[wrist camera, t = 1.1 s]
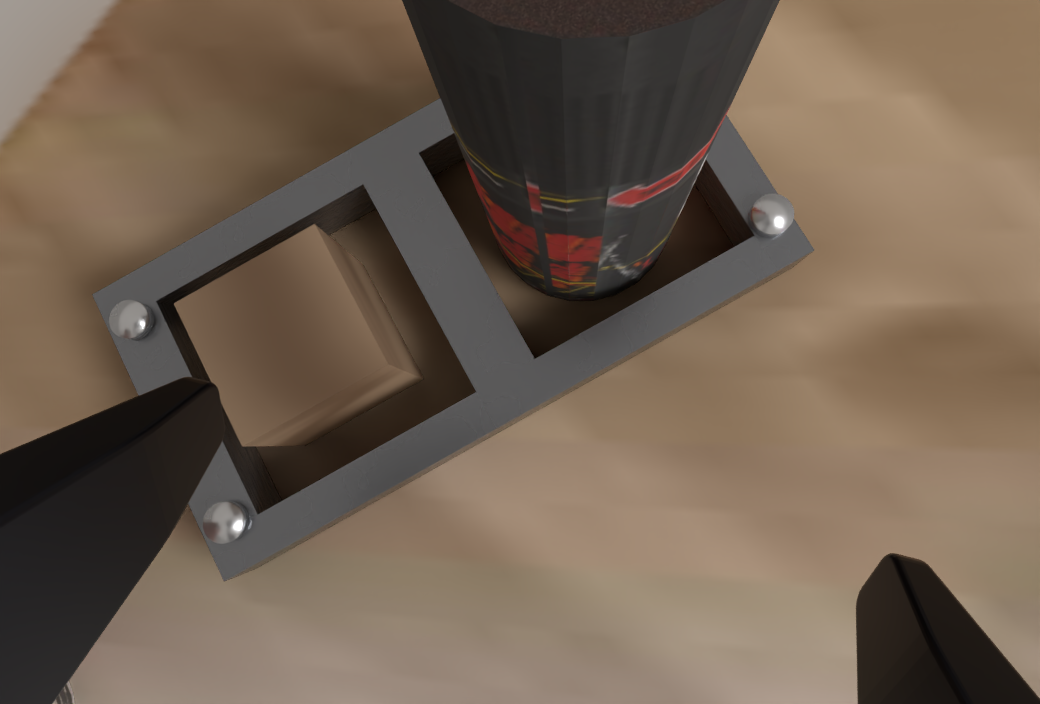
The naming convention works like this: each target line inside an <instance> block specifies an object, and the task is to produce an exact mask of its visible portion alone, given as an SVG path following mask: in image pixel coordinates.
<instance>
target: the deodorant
mask: <svg viewBox="0 0 1040 704" xmlns="http://www.w3.org/2000/svg"><path fill="white" fill-rule="evenodd" d="M402 1H403V4H404V6H405V9H406V11H407V14H408V16H409V19H410V21H411V24H412V27H413V29H414V32H415V34H416V37H417V39H418V42H419V44H420V47H421V50H422V52H423V55H424V57H425V60H426V62H427V65H428V67H429V70H430V73H431V75H432V78H433V80H434V83H435V85H436V88H437V90H438V93H439V96H440V98H441V101H442V103H443V106H444V108H445V111H446V113H447V116H448V119H449V121H450V124H451V126H452V129H453V131H454V134H455V136H456V139H457V142H458V144H459V147H460V149H461V152H462V154H463V157H464V159H465V162H466V165H467V167H468V170H469V172H470V175H471V177H472V180H473V182H474V185H475V188H476V190H477V193H478V195H479V198H480V200H481V203H482V205H483V208H484V211H485V213H486V216H487V218H488V221H489V223H490V226H491V228H492V231H493V234H494V236H495V239H496V241H497V244H498V246H499V249H500V250H501V252H502V254H503V256H504V257H505V259H506V261H507V262H508V264H509V266H510V268H511V269H512V270H513V271H514V272H515V273H516V274H517V275H519V276H520V277H521V278H522V279H523V280H524V281H525V282H526V283H527V284H529V285H530V286H532V287H534V288H536V289H537V290H539V291H541V292H543V293H544V294H546V295H549V296H553V297H557V298H561V299H565V300H569V301H594V300H598V299H601V298H605V297H609V296H612V295H616V294H618V293H620V292H621V291H623V290H625V289H627V288H628V287H630V286H632V285H634V284H635V283H637V282H638V281H639V280H640V279H641V278H642V277H643V276H644V275H645V274H646V273H647V272H648V271H649V270H650V269H651V268H652V267H653V266H654V264H655V263H656V261H657V259H658V257H659V256H660V254H661V252H662V251H663V249H664V247H665V245H666V243H667V241H668V239H669V237H670V235H671V232H672V230H673V228H674V226H675V224H676V222H677V219H678V217H679V215H680V213H681V211H682V209H683V207H684V204H685V202H686V200H687V198H688V196H689V194H690V192H691V189H692V187H693V185H694V183H695V181H696V179H697V177H698V174H699V172H700V170H701V168H702V166H703V164H704V162H705V159H706V157H707V155H708V153H709V151H710V149H711V146H712V144H713V142H714V140H715V138H716V136H717V134H718V131H719V129H720V127H721V125H722V123H723V121H724V119H725V116H726V114H727V112H728V110H729V108H730V106H731V104H732V101H733V99H734V97H735V95H736V93H737V91H738V88H739V86H740V84H741V82H742V80H743V78H744V76H745V73H746V71H747V69H748V67H749V65H750V63H751V61H752V58H753V56H754V54H755V52H756V50H757V48H758V46H759V43H760V41H761V39H762V37H763V35H764V33H765V31H766V28H767V26H768V24H769V22H770V20H771V18H772V15H773V13H774V11H775V9H776V7H777V5H778V3H779V0H402Z"/></svg>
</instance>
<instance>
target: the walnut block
mask: <svg viewBox="0 0 1040 704" xmlns="http://www.w3.org/2000/svg"><path fill="white" fill-rule="evenodd" d="M174 305H175V307H176V310H177V312H178V314H179V316H180V318H181V320H182V322H183V324H184V326H185V328H186V330H187V332H188V335H189V337H190V339H191V341H192V343H193V345H194V347H195V349H196V351H197V353H198V355H199V358H200V360H201V362H202V364H203V366H204V368H205V370H206V372H207V374H208V376H209V378H210V380H211V382H212V383H214V384H215V385H216V386H217V388H218V390H219V394H220V400H221V403H222V406H223V408H224V410H225V412H226V414H227V416H228V418H229V420H230V422H231V424H232V426H233V428H234V431H235V433H236V435H237V437H238V439H239V441H240V443H241V445H242V447H243V446H303V445H307V444H309V443H311V442H313V441H315V440H316V439H318V438H320V437H322V436H323V435H325V434H327V433H329V432H331V431H332V430H334V429H336V428H338V427H339V426H341V425H343V424H345V423H347V422H348V421H350V420H352V419H354V418H355V417H357V416H359V415H361V414H363V413H364V412H366V411H368V410H370V409H371V408H373V407H375V406H377V405H379V404H380V403H382V402H384V401H386V400H387V399H389V398H391V397H393V396H395V395H396V394H398V393H400V392H402V391H403V390H405V389H407V388H409V387H411V386H412V385H414V384H416V383H418V382H420V381H421V380H423V379H424V378H423V376H422V374H421V372H420V371H419V369H418V367H417V365H416V363H415V361H414V359H413V357H412V355H411V354H410V352H409V350H408V348H407V346H406V344H405V342H404V340H403V339H402V337H401V335H400V333H399V331H398V329H397V327H396V325H395V324H394V322H393V320H392V318H391V316H390V314H389V312H388V310H387V309H386V307H385V305H384V303H383V301H382V299H381V297H380V295H379V294H378V292H377V290H376V288H375V286H374V284H373V282H372V280H371V279H370V277H369V275H368V273H367V271H366V269H365V267H364V265H363V264H362V263H361V262H360V261H358V260H357V259H356V258H355V257H354V256H352V255H351V254H350V253H349V252H348V251H346V250H345V249H344V248H343V247H342V246H340V245H339V244H338V243H337V242H336V241H334V240H333V239H332V238H331V237H330V236H328V235H327V234H326V233H325V232H324V231H322V230H321V229H320V228H319V227H318V226H316V225H315V224H314V225H312V226H310V227H308V228H306V229H305V230H303V231H301V232H299V233H298V234H296V235H294V236H292V237H290V238H289V239H287V240H285V241H283V242H282V243H280V244H278V245H276V246H275V247H273V248H271V249H269V250H267V251H266V252H264V253H262V254H260V255H259V256H257V257H255V258H253V259H251V260H250V261H248V262H246V263H244V264H243V265H241V266H239V267H237V268H236V269H234V270H232V271H230V272H228V273H227V274H225V275H223V276H221V277H220V278H218V279H216V280H214V281H212V282H211V283H209V284H207V285H205V286H204V287H202V288H200V289H198V290H197V291H195V292H193V293H191V294H189V295H188V296H186V297H184V298H182V299H181V300H179V301H177V302H175V303H174Z"/></svg>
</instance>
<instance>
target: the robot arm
mask: <svg viewBox="0 0 1040 704" xmlns="http://www.w3.org/2000/svg"><path fill="white" fill-rule="evenodd" d="M224 434H225V421H224V416H223V411H222V405H221V400H220V394H219V390H218V388H217V386H216V385H215V384H214V383H212V382H209V381H205V380H201V379H197V378H193V377H183V378H180V379H177V380H175V381H173V382H170V383H168V384H166V385H163V386H161V387H158V388H156V389H154V390H151V391H149V392H147V393H144V394H142V395H139V396H137V397H135V398H132V399H130V400H128V401H125V402H123V403H120V404H118V405H116V406H113V407H111V408H109V409H106V410H104V411H101V412H99V413H97V414H94V415H92V416H90V417H87V418H85V419H82V420H80V421H78V422H75V423H73V424H71V425H68V426H66V427H63V428H61V429H59V430H56V431H54V432H52V433H49V434H47V435H44V436H42V437H40V438H37V439H35V440H33V441H30V442H28V443H26V444H23V445H21V446H18V447H16V448H14V449H11V450H9V451H7V452H4V453H2V454H0V704H53V702H54V701H55V700H56V698H57V697H58V695H59V694H60V692H61V691H62V690H63V688H64V687H65V685H66V684H67V682H68V681H69V680H70V678H71V677H72V675H73V674H74V672H75V671H76V670H77V668H78V667H79V665H80V664H81V662H82V661H83V660H84V658H85V657H86V655H87V654H88V652H89V651H90V650H91V648H92V647H93V645H94V644H95V642H96V641H97V640H98V638H99V637H100V635H101V634H102V632H103V631H104V630H105V628H106V627H107V625H108V624H109V622H110V621H111V620H112V618H113V617H114V615H115V614H116V612H117V611H118V610H119V608H120V607H121V605H122V604H123V602H124V601H125V600H126V598H127V597H128V595H129V594H130V592H131V591H132V590H133V588H134V587H135V585H136V584H137V582H138V581H139V580H140V578H141V577H142V575H143V574H144V572H145V571H146V570H147V568H148V567H149V565H150V564H151V562H152V561H153V560H154V558H155V557H156V555H157V554H158V552H159V551H160V550H161V548H162V547H163V545H164V544H165V542H166V541H167V539H168V538H169V536H170V534H171V533H172V531H173V529H174V528H175V526H176V524H177V523H178V521H179V519H180V517H181V516H182V514H183V512H184V510H185V508H186V506H187V505H188V503H189V501H190V499H191V497H192V496H193V494H194V492H195V490H196V488H197V487H198V485H199V483H200V481H201V479H202V477H203V476H204V474H205V472H206V470H207V468H208V467H209V465H210V463H211V461H212V459H213V458H214V456H215V454H216V452H217V450H218V448H219V447H220V445H221V443H222V440H223V438H224ZM856 636H857V691H858V704H1040V698H1039V697H1038V696H1037V695H1036V694H1035V692H1034V691H1033V690H1032V689H1031V688H1030V686H1029V685H1028V684H1027V683H1026V682H1025V680H1024V679H1023V678H1022V677H1021V676H1020V674H1019V673H1018V672H1017V671H1016V670H1015V668H1014V667H1013V666H1012V665H1011V664H1010V662H1009V661H1008V660H1007V659H1006V657H1005V656H1004V655H1003V654H1002V653H1001V651H1000V650H999V649H998V648H997V647H996V645H995V644H994V643H993V642H992V641H991V639H990V638H989V637H988V636H987V635H986V633H985V632H984V631H983V630H982V629H981V627H980V626H979V625H978V624H977V623H976V621H975V620H974V619H973V618H972V617H971V615H970V614H969V613H968V612H967V611H966V609H965V608H964V607H963V606H962V605H961V603H960V602H959V601H958V600H957V599H956V597H955V596H954V595H953V594H952V593H951V591H950V590H949V589H948V588H947V587H946V585H945V584H944V583H943V582H942V581H941V579H940V578H939V577H938V576H937V575H936V573H935V572H934V571H933V570H932V569H931V567H930V566H929V565H928V564H926V563H925V562H923V561H921V560H919V559H915V558H911V557H907V556H903V555H899V554H895V553H890V554H888V555H886V556H885V557H884V558H883V559H882V560H881V561H880V563H879V564H878V566H877V567H876V568H875V570H874V571H873V573H872V574H871V575H870V577H869V578H868V580H867V581H866V583H865V584H864V585H863V587H862V588H861V590H860V592H859V595H858V598H857V603H856Z"/></svg>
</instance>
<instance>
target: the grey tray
mask: <svg viewBox="0 0 1040 704" xmlns="http://www.w3.org/2000/svg"><path fill="white" fill-rule="evenodd" d="M463 159H464V157H463V154H462V152H461V149H460V147H459V144H458V142H457V139H456V136H455V134H454V131H453V129H452V126H451V124H450V121H449V119H448V116H447V113H446V111H445V108H444V106H443V103H442V101H441V98H439V99H438V100H436V101H434V102H432V103H431V104H429V105H427V106H425V107H423V108H422V109H420V110H418V111H416V112H415V113H413V114H411V115H409V116H408V117H406V118H404V119H402V120H400V121H399V122H397V123H395V124H393V125H392V126H390V127H388V128H386V129H384V130H383V131H381V132H379V133H377V134H376V135H374V136H372V137H370V138H369V139H367V140H365V141H363V142H361V143H360V144H358V145H356V146H354V147H353V148H351V149H349V150H347V151H346V152H344V153H342V154H340V155H338V156H337V157H335V158H333V159H331V160H330V161H328V162H326V163H324V164H323V165H321V166H319V167H317V168H315V169H314V170H312V171H310V172H308V173H307V174H305V175H303V176H301V177H300V178H298V179H296V180H294V181H292V182H291V183H289V184H287V185H285V186H284V187H282V188H280V189H278V190H276V191H275V192H273V193H271V194H269V195H268V196H266V197H264V198H262V199H261V200H259V201H257V202H255V203H253V204H252V205H250V206H248V207H246V208H245V209H243V210H241V211H239V212H238V213H236V214H234V215H232V216H230V217H229V218H227V219H225V220H223V221H222V222H220V223H218V224H216V225H215V226H213V227H211V228H209V229H207V230H206V231H204V232H202V233H200V234H199V235H197V236H195V237H193V238H191V239H190V240H188V241H186V242H184V243H183V244H181V245H179V246H177V247H176V248H174V249H172V250H170V251H168V252H167V253H165V254H163V255H161V256H160V257H158V258H156V259H154V260H153V261H151V262H149V263H147V264H145V265H144V266H142V267H140V268H138V269H137V270H135V271H133V272H131V273H130V274H128V275H126V276H124V277H122V278H121V279H119V280H117V281H115V282H114V283H112V284H110V285H108V286H107V287H105V288H103V289H101V290H99V291H98V292H96V293H94V294H92V295H93V297H94V299H95V302H96V304H97V306H98V308H99V310H100V313H101V315H102V317H103V319H104V321H105V323H106V326H107V328H108V330H109V332H110V334H111V336H112V339H113V341H114V343H115V345H116V347H117V350H118V352H119V354H120V356H121V358H122V360H123V363H124V365H125V367H126V369H127V371H128V373H129V376H130V378H131V380H132V382H133V384H134V386H135V389H136V391H137V393H138V395H142V394H144V393H147V392H149V391H151V390H154V389H156V388H158V387H161V386H163V385H166V384H168V383H170V382H173V381H175V380H177V379H180V378H183V377H193V378H197V379H201V380H205V381H209V382H211V380H210V378H209V376H208V374H207V372H206V370H205V368H204V366H203V364H202V362H201V360H200V358H199V355H198V353H197V351H196V349H195V347H194V345H193V343H192V341H191V339H190V337H189V335H188V332H187V330H186V328H185V326H184V324H183V322H182V320H181V318H180V316H179V314H178V312H177V310H176V307H175V305H174V303H175V302H177V301H179V300H181V299H182V298H184V297H186V296H188V295H189V294H191V293H193V292H195V291H197V290H198V289H200V288H202V287H204V286H205V285H207V284H209V283H211V282H212V281H214V280H216V279H218V278H220V277H221V276H223V275H225V274H227V273H228V272H230V271H232V270H234V269H236V268H237V267H239V266H241V265H243V264H244V263H246V262H248V261H250V260H251V259H253V258H255V257H257V256H259V255H260V254H262V253H264V252H266V251H267V250H269V249H271V248H273V247H275V246H276V245H278V244H280V243H282V242H283V241H285V240H287V239H289V238H290V237H292V236H294V235H296V234H298V233H299V232H301V231H303V230H305V229H306V228H308V227H310V226H312V225H314V224H315V225H316V226H318V227H319V228H320V229H321V230H322V231H324V232H325V233H326V234H327V235H330V234H331V233H333V232H335V231H337V230H338V229H340V228H342V227H344V226H346V225H347V224H349V223H351V222H353V221H354V220H356V219H358V218H360V217H361V216H363V215H365V214H367V213H369V212H370V211H372V210H374V209H377V210H378V212H379V214H380V216H381V218H382V220H383V221H384V223H385V225H386V227H387V229H388V231H389V232H390V234H391V236H392V238H393V240H394V242H395V243H396V245H397V247H398V249H399V251H400V253H401V255H402V256H403V258H404V260H405V262H406V264H407V266H408V267H409V269H410V271H411V273H412V275H413V277H414V278H415V280H416V282H417V284H418V286H419V288H420V289H421V291H422V293H423V295H424V297H425V299H426V300H427V302H428V304H429V306H430V308H431V310H432V311H433V313H434V315H435V317H436V319H437V321H438V323H439V324H440V326H441V328H442V330H443V332H444V334H445V335H446V337H447V339H448V341H449V343H450V345H451V346H452V348H453V350H454V352H455V354H456V356H457V357H458V359H459V361H460V363H461V365H462V367H463V368H464V370H465V372H466V374H467V376H468V378H469V379H470V381H471V383H472V385H473V387H474V389H475V390H476V392H475V393H473V394H472V395H470V396H468V397H466V398H465V399H463V400H461V401H459V402H457V403H456V404H454V405H452V406H450V407H448V408H447V409H445V410H443V411H441V412H440V413H438V414H436V415H434V416H432V417H431V418H429V419H427V420H425V421H424V422H422V423H420V424H418V425H416V426H415V427H413V428H411V429H409V430H408V431H406V432H404V433H402V434H400V435H399V436H397V437H395V438H393V439H392V440H390V441H388V442H386V443H384V444H383V445H381V446H379V447H377V448H375V449H374V450H372V451H370V452H368V453H367V454H365V455H363V456H361V457H359V458H358V459H356V460H354V461H352V462H351V463H349V464H347V465H345V466H343V467H342V468H340V469H338V470H336V471H335V472H333V473H331V474H329V475H327V476H326V477H324V478H322V479H320V480H319V481H317V482H315V483H313V484H311V485H310V486H308V487H306V488H304V489H303V490H301V491H299V492H297V493H295V494H294V495H292V496H290V497H288V498H286V499H285V500H283V501H282V500H281V498H280V496H279V494H278V492H277V490H276V488H275V486H274V484H273V482H272V480H271V478H270V476H269V474H268V471H267V469H266V467H265V465H264V463H263V461H262V459H261V457H260V455H259V453H258V451H257V449H256V447H255V446H243V447H242V445H241V443H240V441H239V439H238V437H237V435H236V433H235V431H234V428H233V426H232V424H231V422H230V420H229V418H228V416H227V414H226V412H225V410H224V408H223V406H222V411H223V416H224V421H225V434H224V438H223V440H222V443H221V445H220V447H219V448H218V450H217V452H216V454H215V456H214V458H213V459H212V461H211V463H210V465H209V467H208V468H207V470H206V472H205V474H204V476H203V477H202V479H201V481H200V483H199V485H198V487H197V488H196V490H195V492H194V494H193V496H192V497H191V499H190V501H189V503H188V504H189V506H190V508H191V510H192V513H193V515H194V517H195V519H196V521H197V524H198V526H199V528H200V530H201V532H202V534H203V537H204V539H205V541H206V543H207V545H208V547H209V550H210V552H211V554H212V556H213V558H214V561H215V563H216V565H217V567H218V569H219V571H220V574H221V576H222V578H223V580H224V581H227V580H229V579H232V578H234V577H237V576H239V575H242V574H244V573H247V572H249V571H252V570H254V569H256V568H258V567H260V566H262V565H263V564H265V563H267V562H269V561H270V560H272V559H274V558H276V557H278V556H279V555H281V554H283V553H285V552H286V551H288V550H290V549H292V548H294V547H295V546H297V545H299V544H301V543H302V542H304V541H306V540H308V539H310V538H311V537H313V536H315V535H317V534H319V533H320V532H322V531H324V530H326V529H327V528H329V527H331V526H333V525H335V524H336V523H338V522H340V521H342V520H343V519H345V518H347V517H349V516H351V515H352V514H354V513H356V512H358V511H360V510H361V509H363V508H365V507H367V506H368V505H370V504H372V503H374V502H376V501H377V500H379V499H381V498H383V497H384V496H386V495H388V494H390V493H392V492H393V491H395V490H397V489H399V488H401V487H402V486H404V485H406V484H408V483H409V482H411V481H413V480H415V479H417V478H418V477H420V476H422V475H424V474H425V473H427V472H429V471H431V470H433V469H434V468H436V467H438V466H440V465H441V464H443V463H445V462H447V461H449V460H450V459H452V458H454V457H456V456H458V455H459V454H461V453H463V452H465V451H466V450H468V449H470V448H472V447H474V446H475V445H477V444H479V443H481V442H482V441H484V440H486V439H488V438H490V437H491V436H493V435H495V434H497V433H499V432H500V431H502V430H504V429H506V428H507V427H509V426H511V425H513V424H515V423H516V422H518V421H520V420H522V419H523V418H525V417H527V416H529V415H531V414H532V413H534V412H536V411H538V410H540V409H541V408H543V407H545V406H547V405H548V404H550V403H552V402H554V401H556V400H557V399H559V398H561V397H563V396H564V395H566V394H568V393H570V392H572V391H573V390H575V389H577V388H579V387H580V386H582V385H584V384H586V383H588V382H589V381H591V380H593V379H595V378H597V377H598V376H600V375H602V374H604V373H605V372H607V371H609V370H611V369H613V368H614V367H616V366H618V365H620V364H621V363H623V362H625V361H627V360H629V359H630V358H632V357H634V356H636V355H638V354H639V353H641V352H643V351H645V350H646V349H648V348H650V347H652V346H654V345H655V344H657V343H659V342H661V341H662V340H664V339H666V338H668V337H670V336H671V335H673V334H675V333H677V332H679V331H680V330H682V329H684V328H686V327H687V326H689V325H691V324H693V323H695V322H696V321H698V320H700V319H702V318H703V317H705V316H707V315H709V314H711V313H712V312H714V311H716V310H718V309H720V308H721V307H723V306H725V305H727V304H728V303H730V302H732V301H734V300H736V299H737V298H739V297H741V296H743V295H744V294H746V293H748V292H750V291H752V290H753V289H755V288H757V287H759V286H760V285H762V284H764V283H766V282H768V281H769V280H771V279H773V278H775V277H777V276H778V275H780V274H782V273H784V272H785V271H787V270H789V269H791V268H793V267H794V266H795V265H797V264H798V263H799V262H800V261H802V260H803V259H804V258H805V257H807V256H808V255H809V254H810V253H812V252H813V251H814V249H813V247H812V246H811V244H810V243H809V241H808V240H807V238H806V236H805V235H804V233H803V232H802V230H801V229H800V227H799V226H798V224H797V223H796V221H795V220H794V209H793V206H792V204H791V203H790V201H789V200H788V199H787V198H785V197H784V196H782V195H779V194H778V193H777V192H776V190H775V189H774V187H773V186H772V184H771V183H770V181H769V180H768V178H767V177H766V175H765V173H764V172H763V170H762V169H761V167H760V166H759V164H758V163H757V161H756V160H755V158H754V157H753V155H752V154H751V152H750V150H749V149H748V147H747V146H746V144H745V143H744V141H743V140H742V138H741V137H740V135H739V134H738V132H737V131H736V129H735V127H734V126H733V124H732V123H731V121H730V120H729V118H728V117H727V115H726V116H725V119H724V121H723V123H722V125H721V127H720V129H719V131H718V134H717V136H716V138H715V140H714V142H713V144H712V146H711V149H710V151H709V153H708V155H707V157H706V159H705V162H704V164H703V166H702V168H701V170H700V172H699V174H698V177H697V179H696V181H695V185H696V186H697V188H698V190H699V191H700V193H701V194H702V196H703V198H704V199H705V201H706V202H707V204H708V205H709V207H710V209H711V210H712V212H713V213H714V215H715V217H716V218H717V220H718V221H719V223H720V224H721V226H722V228H723V229H724V231H725V232H726V234H727V236H728V237H729V239H730V240H731V242H732V243H733V245H734V247H733V248H732V249H730V250H728V251H726V252H724V253H723V254H721V255H719V256H717V257H716V258H714V259H712V260H710V261H708V262H707V263H705V264H703V265H701V266H700V267H698V268H696V269H694V270H692V271H691V272H689V273H687V274H685V275H684V276H682V277H680V278H678V279H676V280H675V281H673V282H671V283H669V284H667V285H666V286H664V287H662V288H660V289H659V290H657V291H655V292H653V293H651V294H650V295H648V296H646V297H644V298H643V299H641V300H639V301H637V302H635V303H634V304H632V305H630V306H628V307H627V308H625V309H623V310H621V311H619V312H618V313H616V314H614V315H612V316H611V317H609V318H607V319H605V320H603V321H602V322H600V323H598V324H596V325H594V326H593V327H591V328H589V329H587V330H586V331H584V332H582V333H580V334H578V335H577V336H575V337H573V338H571V339H570V340H568V341H566V342H564V343H562V344H561V345H559V346H557V347H555V348H554V349H552V350H550V351H548V352H546V353H545V354H543V355H541V356H539V357H538V358H536V359H534V357H533V355H532V353H531V351H530V350H529V348H528V346H527V344H526V343H525V341H524V339H523V337H522V336H521V334H520V332H519V330H518V328H517V327H516V325H515V323H514V321H513V320H512V318H511V316H510V314H509V312H508V311H507V309H506V307H505V305H504V304H503V302H502V300H501V298H500V296H499V295H498V293H497V291H496V289H495V288H494V286H493V284H492V282H491V280H490V279H489V277H488V275H487V273H486V272H485V270H484V268H483V266H482V265H481V263H480V261H479V259H478V257H477V256H476V254H475V252H474V250H473V249H472V247H471V245H470V243H469V241H468V240H467V238H466V236H465V234H464V233H463V231H462V229H461V227H460V225H459V224H458V222H457V220H456V218H455V217H454V215H453V213H452V211H451V209H450V208H449V206H448V204H447V202H446V201H445V199H444V197H443V195H442V194H441V192H440V190H439V188H438V186H437V185H436V183H435V181H434V179H433V178H432V176H434V175H436V174H438V173H439V172H441V171H443V170H445V169H447V168H448V167H450V166H452V165H454V164H455V163H457V162H459V161H461V160H463ZM221 405H222V403H221Z"/></svg>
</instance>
